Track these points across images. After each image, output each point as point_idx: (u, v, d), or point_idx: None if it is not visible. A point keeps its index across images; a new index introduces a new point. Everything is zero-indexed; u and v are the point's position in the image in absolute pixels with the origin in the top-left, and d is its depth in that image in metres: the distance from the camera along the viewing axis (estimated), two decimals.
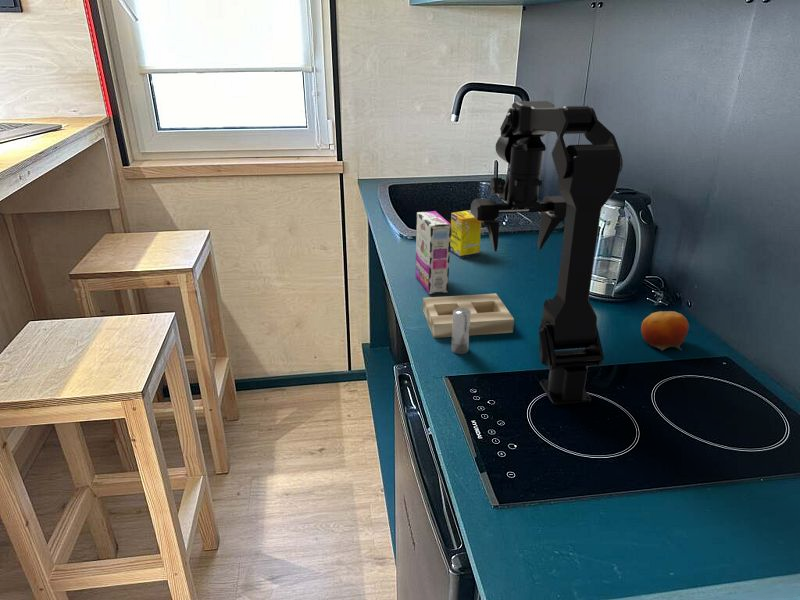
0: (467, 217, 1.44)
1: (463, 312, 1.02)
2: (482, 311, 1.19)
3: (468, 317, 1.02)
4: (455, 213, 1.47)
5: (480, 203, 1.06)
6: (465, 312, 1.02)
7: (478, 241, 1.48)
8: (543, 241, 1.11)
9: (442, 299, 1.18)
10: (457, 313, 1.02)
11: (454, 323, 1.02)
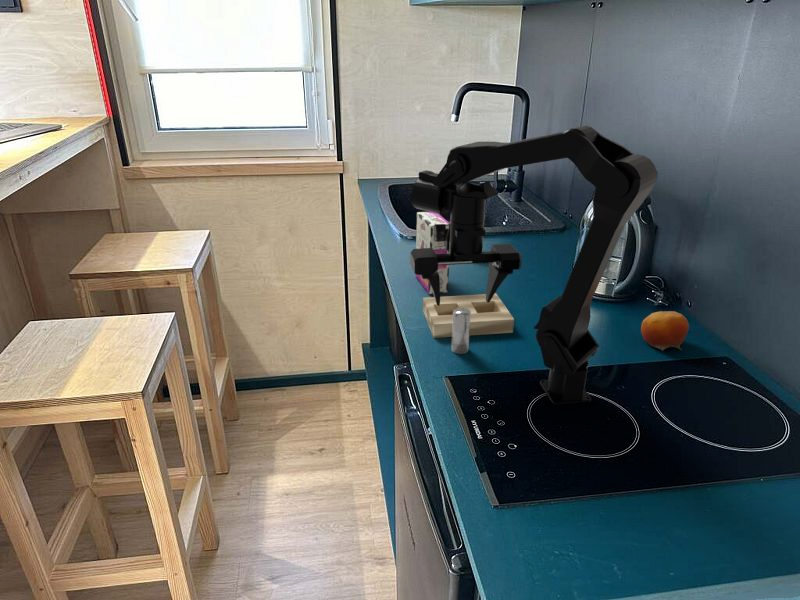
0: None
1: (463, 312, 1.02)
2: (482, 311, 1.19)
3: (468, 317, 1.02)
4: None
5: (418, 255, 0.95)
6: (465, 312, 1.02)
7: None
8: (491, 294, 1.00)
9: (442, 299, 1.18)
10: (457, 313, 1.02)
11: (454, 323, 1.02)
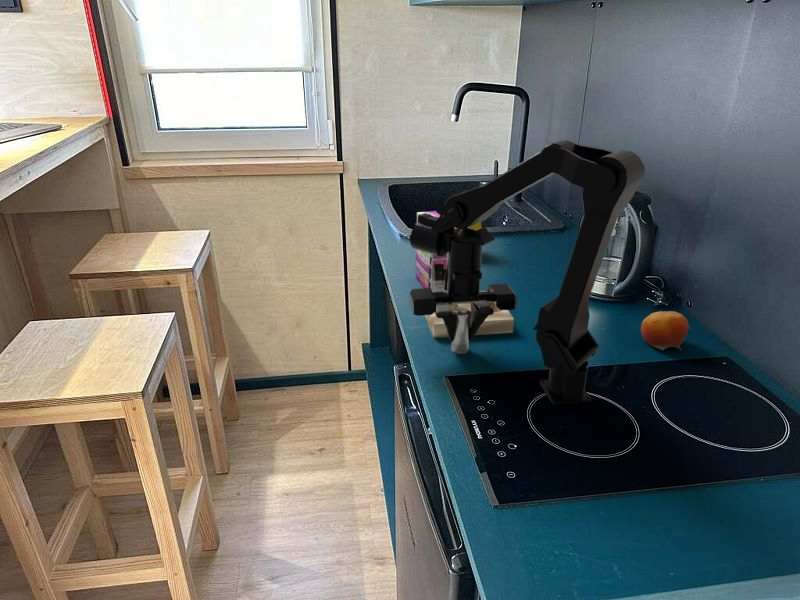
0: None
1: (463, 312, 1.02)
2: None
3: (468, 317, 1.02)
4: None
5: (417, 296, 0.99)
6: (465, 311, 1.02)
7: None
8: (472, 333, 1.03)
9: None
10: (457, 313, 1.02)
11: (454, 323, 1.02)
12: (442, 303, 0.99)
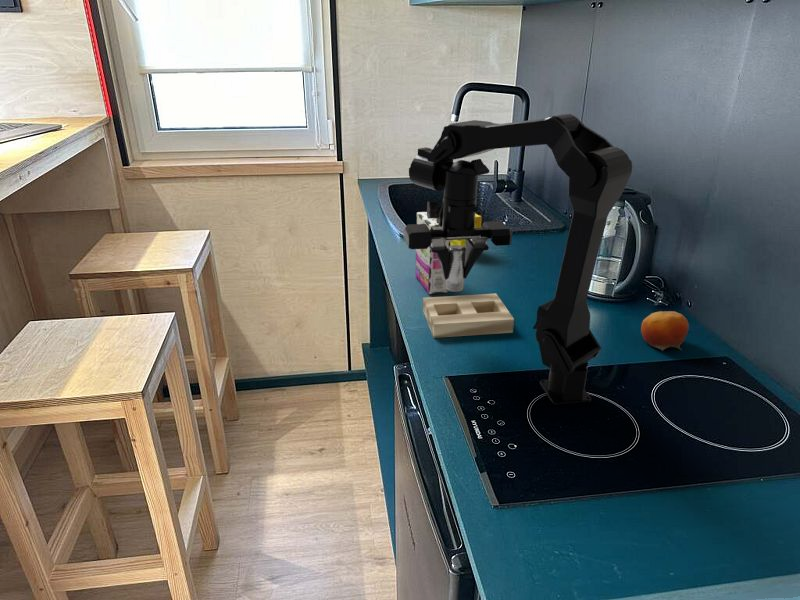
0: None
1: (458, 248, 1.02)
2: (482, 311, 1.19)
3: (463, 253, 1.01)
4: None
5: (412, 230, 0.98)
6: (459, 248, 1.02)
7: None
8: (467, 270, 1.03)
9: (442, 299, 1.18)
10: (452, 249, 1.02)
11: (449, 260, 1.02)
12: (437, 237, 0.99)
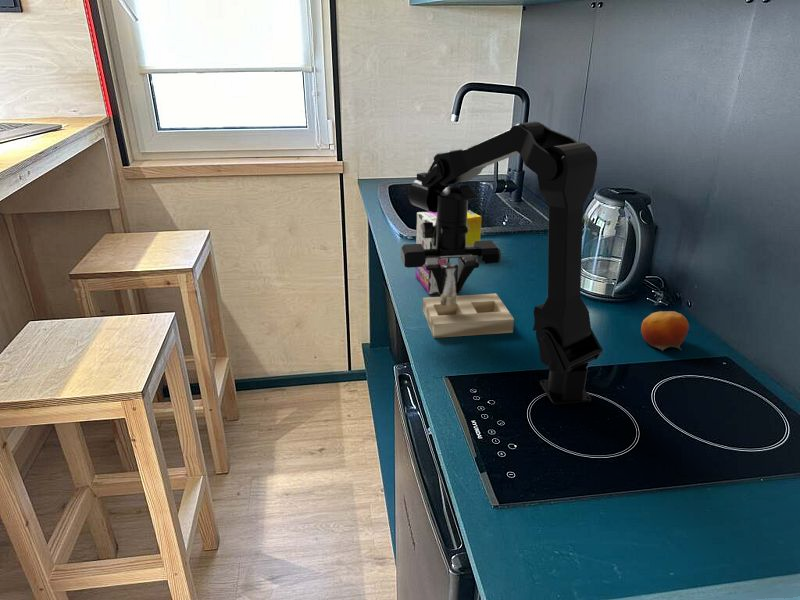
0: (467, 217, 1.44)
1: (451, 266, 1.10)
2: (482, 311, 1.19)
3: (455, 270, 1.09)
4: None
5: (408, 250, 1.06)
6: (452, 265, 1.10)
7: None
8: (460, 286, 1.11)
9: None
10: (445, 266, 1.09)
11: (443, 276, 1.10)
12: (431, 256, 1.07)
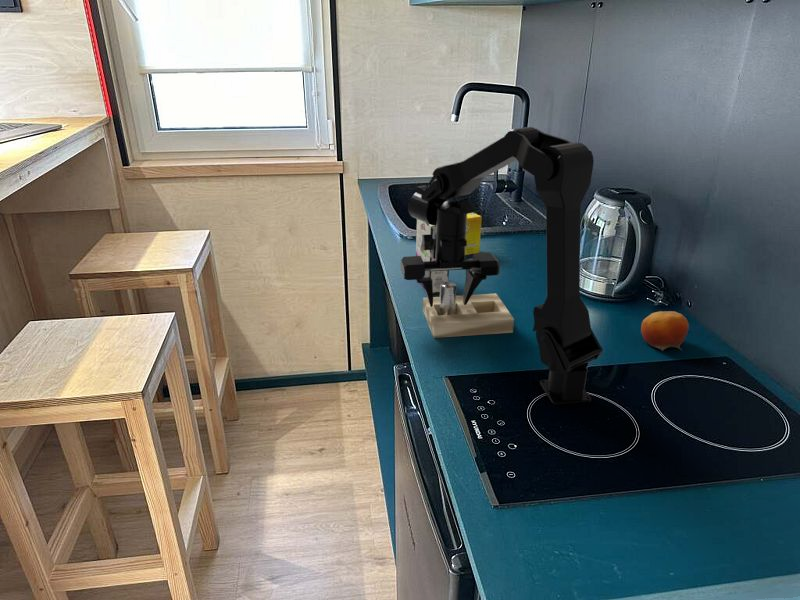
0: (467, 217, 1.44)
1: (449, 285, 1.12)
2: (482, 311, 1.19)
3: (454, 290, 1.11)
4: None
5: (407, 262, 1.07)
6: (451, 285, 1.12)
7: (478, 241, 1.48)
8: (467, 297, 1.12)
9: None
10: (443, 286, 1.11)
11: (441, 295, 1.12)
12: None
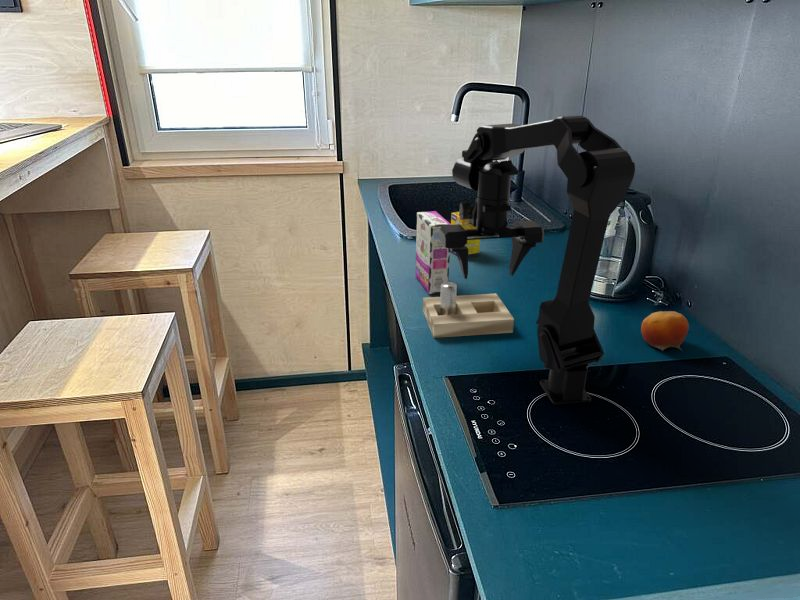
0: None
1: (450, 285, 1.12)
2: (482, 311, 1.19)
3: (454, 290, 1.11)
4: (455, 213, 1.47)
5: (448, 230, 1.02)
6: (451, 285, 1.12)
7: (478, 241, 1.48)
8: (515, 267, 1.07)
9: None
10: (444, 286, 1.11)
11: (442, 295, 1.12)
12: None
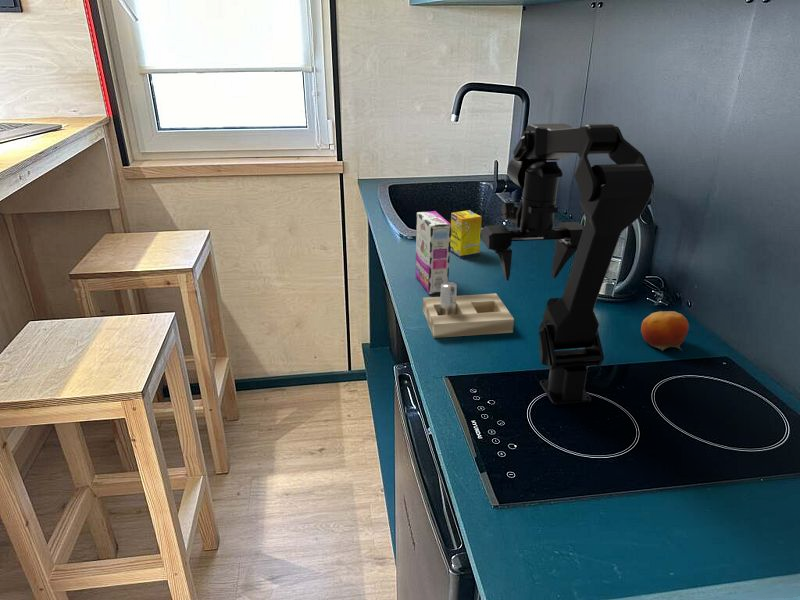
0: (467, 217, 1.44)
1: (450, 285, 1.12)
2: (482, 311, 1.19)
3: (454, 290, 1.11)
4: (455, 213, 1.47)
5: (492, 231, 1.00)
6: (451, 285, 1.12)
7: (478, 241, 1.48)
8: (558, 270, 1.05)
9: None
10: (444, 286, 1.11)
11: (442, 295, 1.12)
12: None
